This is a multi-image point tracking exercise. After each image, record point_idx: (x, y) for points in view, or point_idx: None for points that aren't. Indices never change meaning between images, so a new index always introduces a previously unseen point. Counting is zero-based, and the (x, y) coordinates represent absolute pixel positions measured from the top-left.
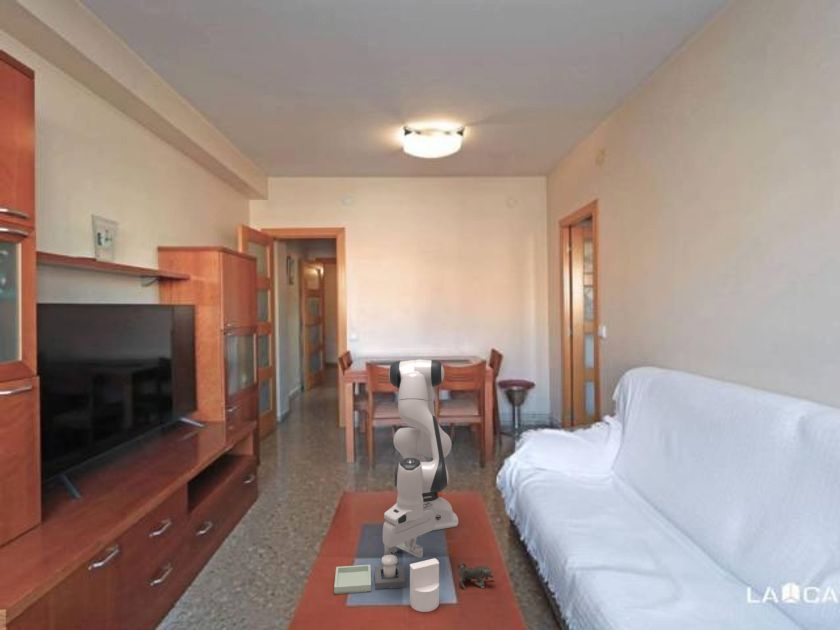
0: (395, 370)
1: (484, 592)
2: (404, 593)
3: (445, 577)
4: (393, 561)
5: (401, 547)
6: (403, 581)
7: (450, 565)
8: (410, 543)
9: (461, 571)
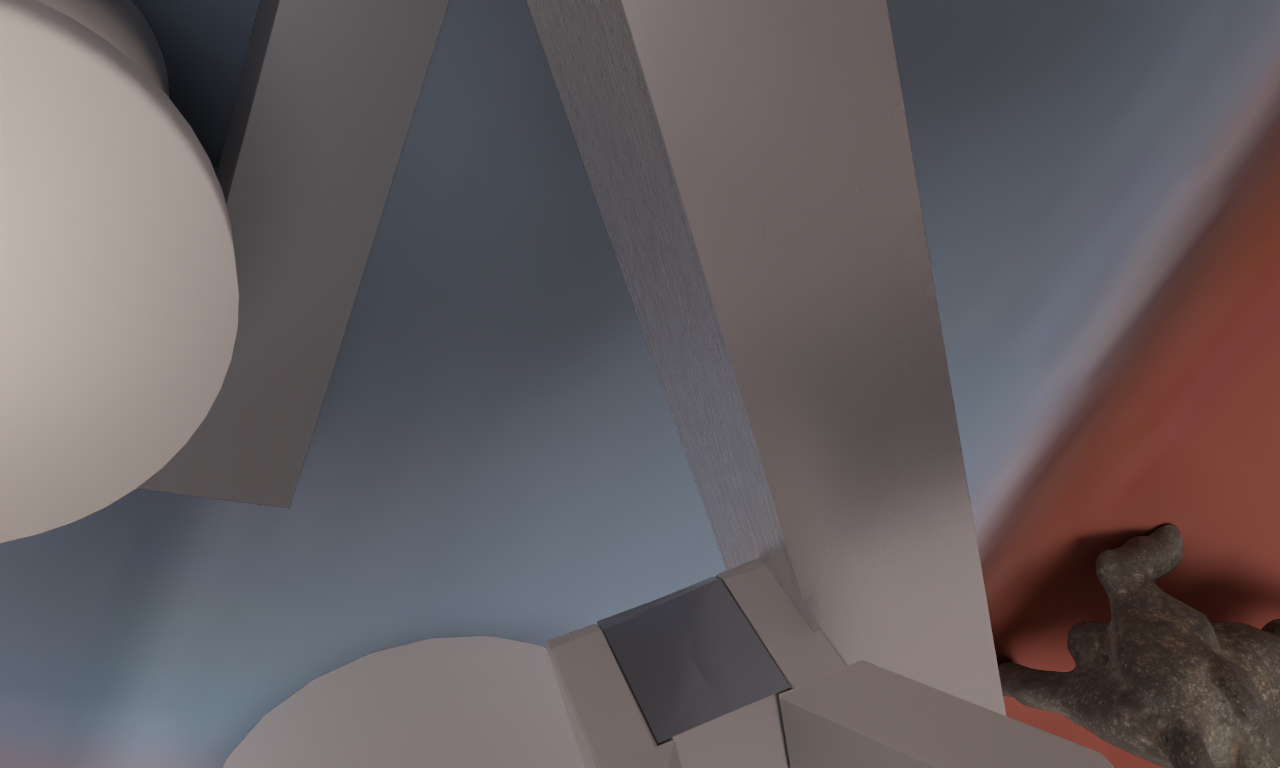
0: None
1: (1109, 746)
2: (204, 585)
3: (987, 393)
4: (37, 488)
5: (569, 96)
6: (251, 502)
7: (1255, 131)
8: (819, 754)
9: (1147, 757)
